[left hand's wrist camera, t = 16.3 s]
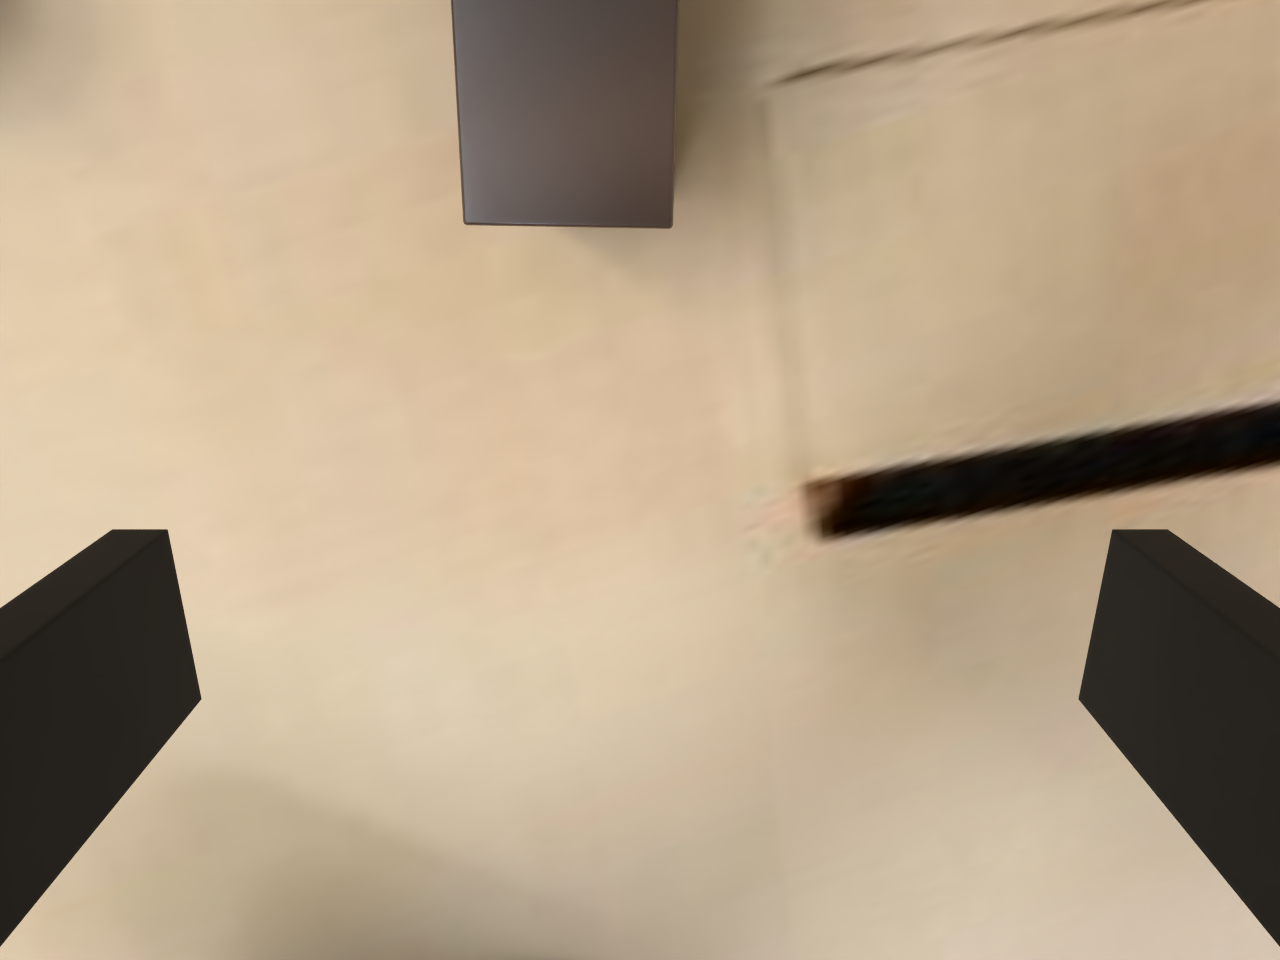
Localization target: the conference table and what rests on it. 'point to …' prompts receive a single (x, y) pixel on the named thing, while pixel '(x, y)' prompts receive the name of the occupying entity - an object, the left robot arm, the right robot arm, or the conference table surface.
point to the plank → (566, 111)
